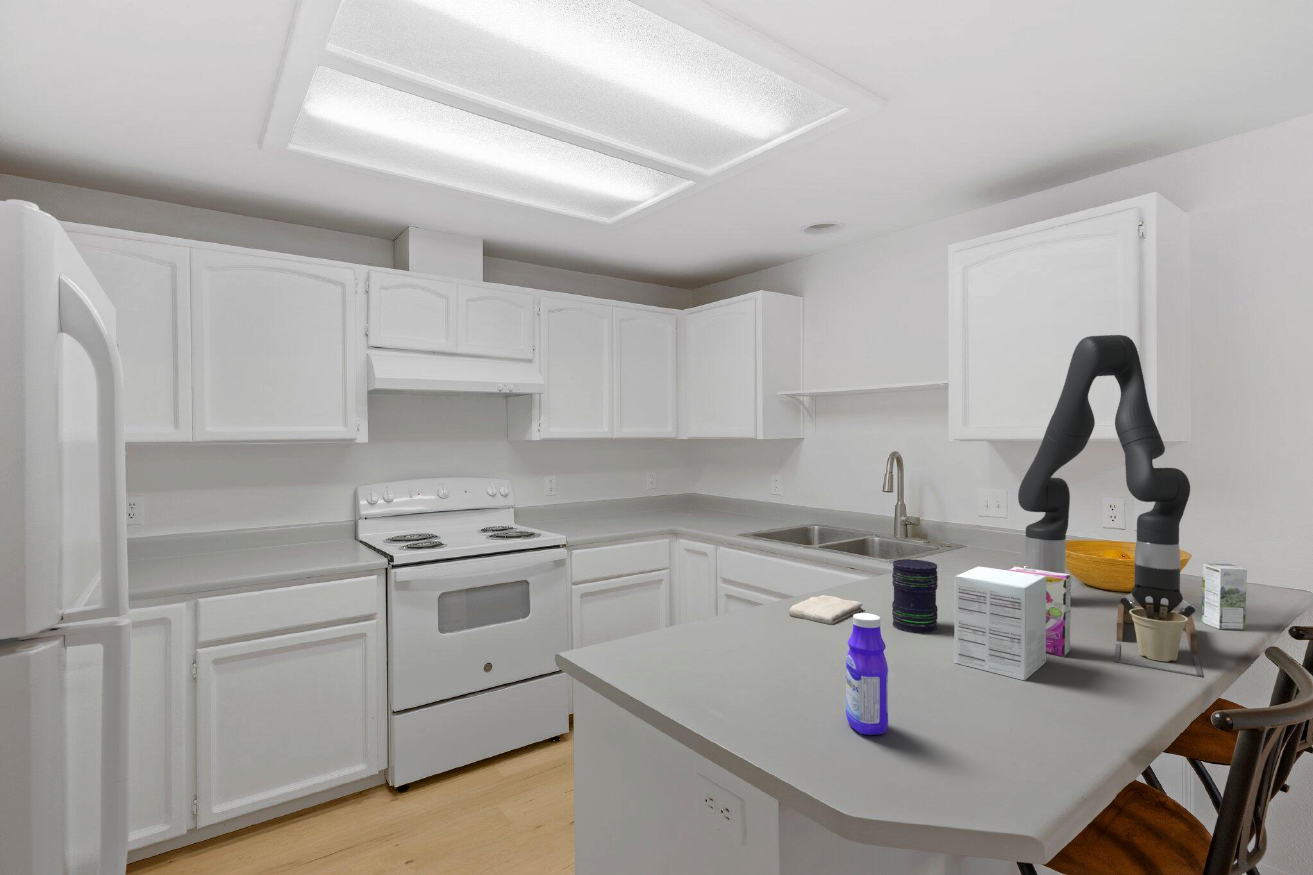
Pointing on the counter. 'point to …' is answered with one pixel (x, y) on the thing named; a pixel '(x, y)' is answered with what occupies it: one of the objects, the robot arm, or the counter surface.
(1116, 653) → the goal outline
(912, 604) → the storage jar
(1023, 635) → the supplement box
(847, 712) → the bottle
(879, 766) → the counter surface
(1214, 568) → the syrup box
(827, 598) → the washcloth
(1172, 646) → the flower pot
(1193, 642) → the brown wooden frame
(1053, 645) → the candy bar box
